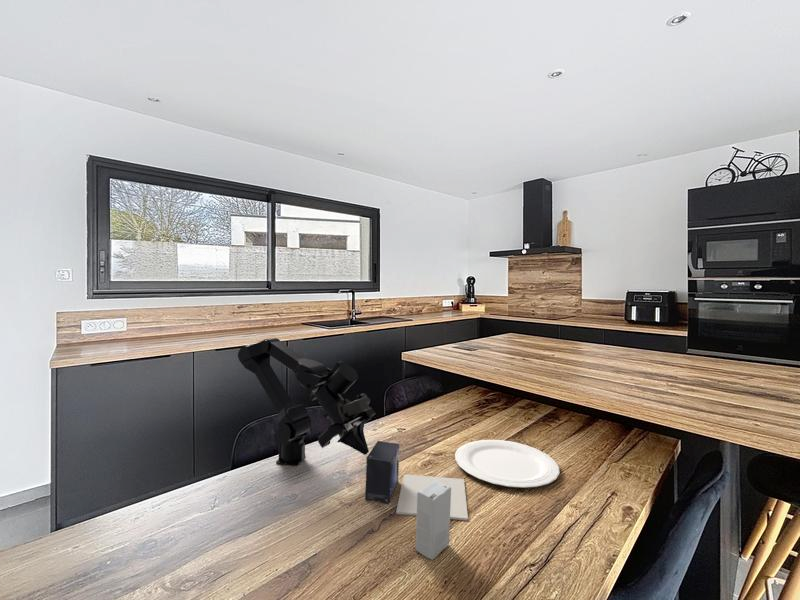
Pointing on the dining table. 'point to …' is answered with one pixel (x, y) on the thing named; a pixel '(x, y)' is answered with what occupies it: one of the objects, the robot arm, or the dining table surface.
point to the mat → (416, 483)
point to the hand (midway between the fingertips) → (367, 453)
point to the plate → (507, 463)
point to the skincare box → (433, 519)
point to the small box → (382, 472)
